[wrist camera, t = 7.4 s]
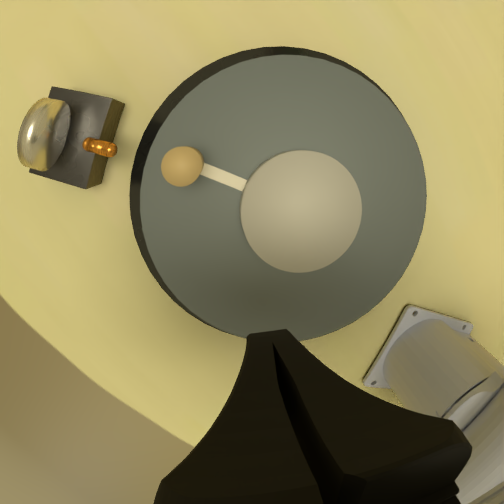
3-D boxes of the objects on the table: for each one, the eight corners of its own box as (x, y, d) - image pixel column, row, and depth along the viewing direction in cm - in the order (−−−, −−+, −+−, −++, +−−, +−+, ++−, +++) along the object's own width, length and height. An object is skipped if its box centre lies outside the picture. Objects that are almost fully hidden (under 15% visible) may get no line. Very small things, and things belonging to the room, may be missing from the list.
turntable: (217, 19, 14) (218, -17, 10) (445, 146, 18) (492, 151, 13) (112, 278, 18) (87, 315, 14) (341, 353, 22) (364, 394, 17)
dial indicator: (148, 110, 17) (119, 95, 11) (123, 190, 18) (87, 210, 12) (69, 91, 16) (19, 77, 10) (48, 168, 17) (-6, 180, 11)
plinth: (441, 129, 19) (454, 129, 17) (347, 349, 24) (354, 360, 22) (195, 16, 15) (193, 7, 14) (109, 287, 20) (102, 296, 19)
